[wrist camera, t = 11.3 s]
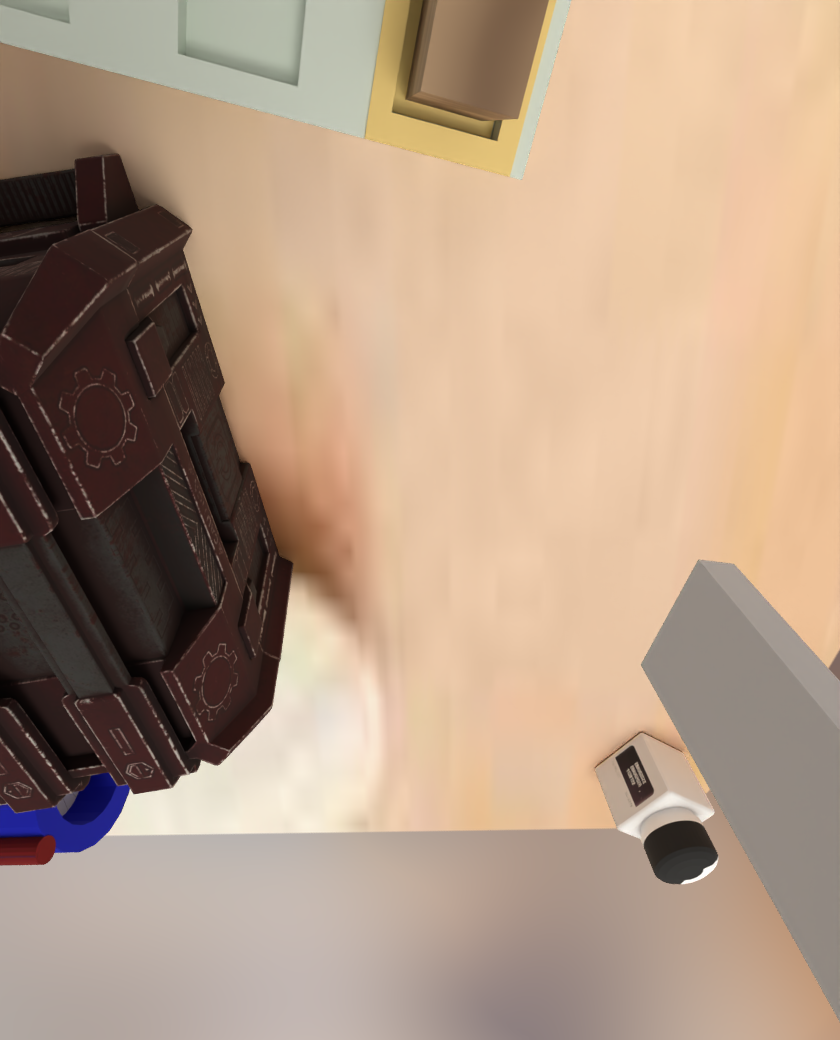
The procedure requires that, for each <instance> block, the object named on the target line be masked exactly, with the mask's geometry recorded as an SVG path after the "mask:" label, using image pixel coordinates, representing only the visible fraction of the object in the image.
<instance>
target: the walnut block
mask: <svg viewBox="0 0 840 1040" xmlns="http://www.w3.org/2000/svg"><path fill="white" fill-rule="evenodd" d="M548 2H549V0H423V2H422V8H421V14H420V19H419V25H418V31H417V36H416V42H415V48H414V53H413V59H412V65H411V70H410V76H409V82H408V87H407V93H406V98H405V100H408V101H412V102H415V103H419V104H422V105H426V106H430V107H433V108H437V109H440V110H444V111H447V112H451V113H455V114H458V115H462V116H465V117H469V118H472V119H476V120H479V121H493V120H509V119H518V118H519V114H520V110H521V106H522V102H523V98H524V95H525V91H526V87H527V83H528V79H529V75H530V72H531V68H532V64H533V60H534V56H535V52H536V48H537V45H538V41H539V37H540V33H541V29H542V25H543V22H544V18H545V14H546V10H547V6H548Z"/></svg>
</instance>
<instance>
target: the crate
mask: <svg viewBox="0 0 840 1040" xmlns="http://www.w3.org/2000/svg"><path fill="white" fill-rule="evenodd" d="M71 216H77V221H76V222H69V223H63V224H56V225H50V226H43V227H36V228H30V229H23V230H17V231H10V232H4V233H0V805H5V804H8V805H9V806H10V808H11V809H12V810H13V811H14V812H15V813H22V812H28V811H34V810H40V809H46V808H53V807H55V806H56V805H57V804H58V803H59V802H60V801H61V800H62V799H63V798H64V797H65V796H66V795H67V794H72V793H73V792H77V791H83V790H84V789H85V787H86V786H87V785H88V784H89V781H90V777H91V775H96V774H102V773H108V772H109V774H110V775H111V777H112V778H113V780H114V781H115V783H116V785H117V786H122V785H128V786H129V788H130V789H131V791H132V792H133V794H139V793H145V792H151V791H157V790H163V789H169V788H173V787H174V785H175V784H176V782H177V781H178V779H179V778H180V776H183V775H189V774H190V773H194V772H197V770H198V768H199V766H200V762H201V760H202V761H205V762H208V763H210V764H213V765H217V766H218V765H220V764H221V763H222V762H223V761H224V760H225V759H226V758H227V757H228V756H229V755H230V754H231V753H232V752H233V751H234V749H235V748H236V747H237V746H238V745H239V744H240V743H241V742H242V741H243V740H244V739H245V738H246V737H247V736H248V735H249V733H250V732H251V731H252V730H253V729H254V728H255V727H256V726H257V725H258V724H259V723H260V721H261V720H262V719H263V718H264V717H265V716H266V715H267V714H268V712H269V711H270V710H271V709H272V706H273V699H274V693H275V686H276V680H277V673H278V667H279V662H280V659H281V652H282V644H283V637H284V629H285V622H286V614H287V607H288V599H289V592H290V584H291V577H292V569H293V563H292V562H290V561H288V560H286V559H284V558H282V557H280V556H279V554H278V550H277V547H276V544H275V541H274V538H273V535H272V532H271V528H270V525H269V522H268V519H267V516H266V513H265V509H264V506H263V503H262V500H261V497H260V493H259V490H258V487H257V484H256V481H255V477H254V474H253V471H252V468H251V465H250V464H249V463H240V460H239V457H238V454H237V450H236V447H235V444H234V441H233V438H232V435H231V432H230V429H229V426H228V423H227V420H226V417H225V414H224V410H223V407H222V404H221V401H220V398H219V394H220V392H221V390H222V388H223V386H224V384H225V383H224V379H223V376H222V373H221V369H220V366H219V363H218V360H217V357H216V354H215V351H214V347H213V344H212V341H211V338H210V335H209V332H208V329H207V325H206V322H205V319H204V316H203V313H202V309H201V306H200V303H199V300H198V297H197V294H196V290H195V287H194V284H193V281H192V278H191V274H190V271H189V268H188V265H187V262H186V258H185V255H184V252H183V248H184V246H185V244H186V242H187V240H188V238H189V237H190V235H191V233H192V229H191V228H190V227H189V226H188V225H187V224H185V223H184V222H182V221H181V220H179V219H178V218H177V217H175V216H174V215H172V214H171V213H170V212H168V211H167V210H165V209H164V208H163V207H161V206H159V205H157V204H156V205H153V206H151V207H148V208H146V209H143V210H140V211H139V210H138V207H137V204H136V202H135V199H134V196H133V193H132V190H131V187H130V184H129V181H128V178H127V175H126V172H125V169H124V166H123V163H122V160H121V158H120V155H119V154H111V155H101V156H94V157H88V158H81V159H76V160H75V169H70V170H63V171H57V172H50V173H43V174H37V175H30V176H24V177H17V178H10V179H4V180H0V227H6V226H12V225H19V224H25V223H32V222H38V221H45V220H52V219H58V218H65V217H71Z"/></svg>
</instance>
